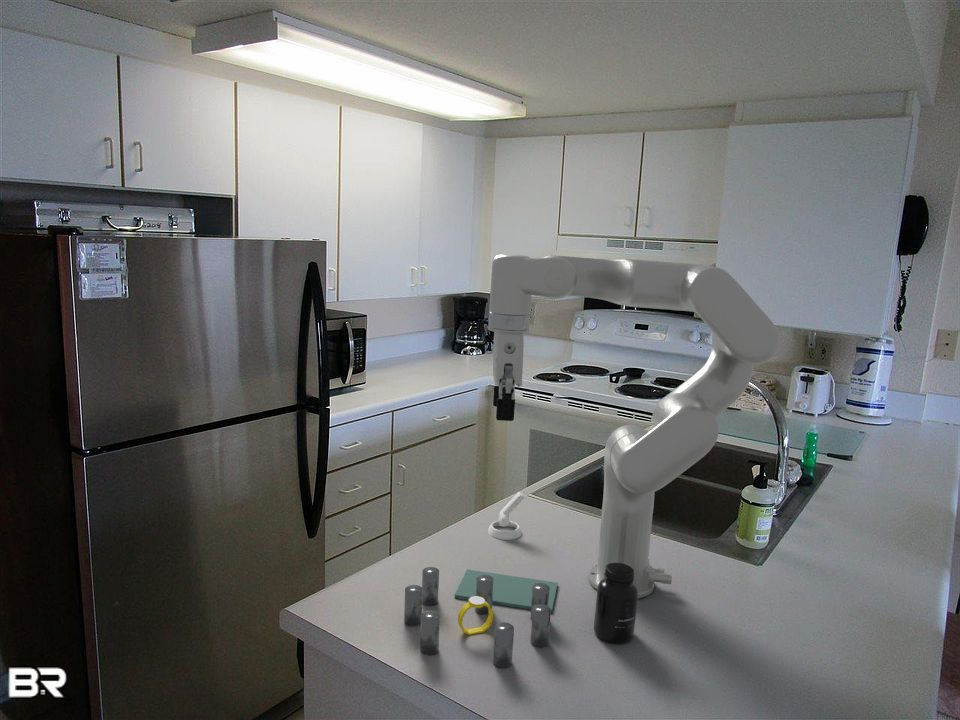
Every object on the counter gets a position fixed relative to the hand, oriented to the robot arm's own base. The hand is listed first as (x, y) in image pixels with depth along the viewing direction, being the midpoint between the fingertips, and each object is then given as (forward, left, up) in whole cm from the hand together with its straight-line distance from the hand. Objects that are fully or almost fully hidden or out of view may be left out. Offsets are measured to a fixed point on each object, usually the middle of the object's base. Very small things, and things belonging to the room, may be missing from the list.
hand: (502, 413), depth 128 cm
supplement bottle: (-23, +13, -34) cm, 43 cm away
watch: (0, +19, -34) cm, 39 cm away
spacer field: (0, +19, -33) cm, 38 cm away
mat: (-3, +5, -33) cm, 34 cm away
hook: (+2, -21, -34) cm, 39 cm away
